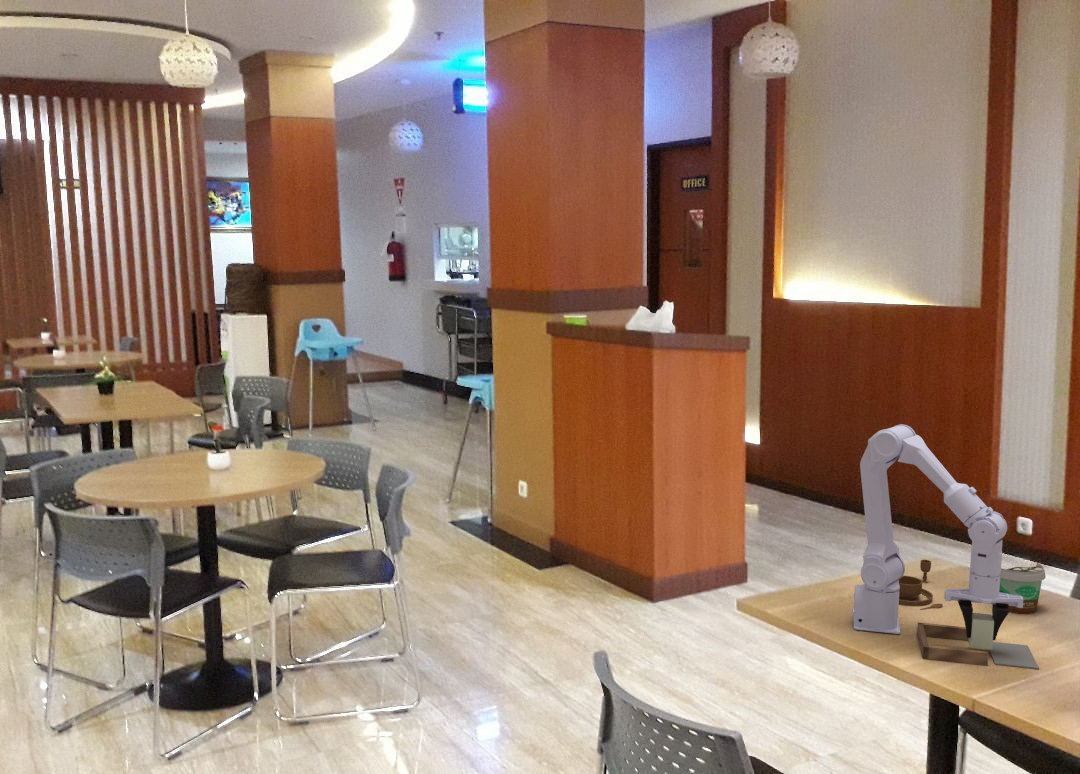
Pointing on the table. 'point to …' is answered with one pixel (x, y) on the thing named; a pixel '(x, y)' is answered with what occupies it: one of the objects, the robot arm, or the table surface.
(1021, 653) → the mat
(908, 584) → the place setting
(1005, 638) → the table surface
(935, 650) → the open side box
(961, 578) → the table surface
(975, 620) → the sage block
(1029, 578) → the food container
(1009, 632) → the table surface
